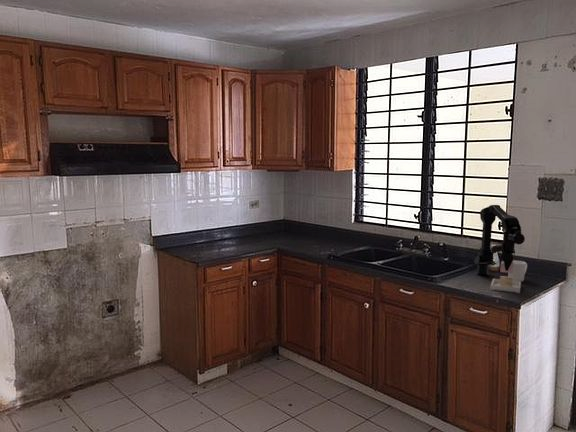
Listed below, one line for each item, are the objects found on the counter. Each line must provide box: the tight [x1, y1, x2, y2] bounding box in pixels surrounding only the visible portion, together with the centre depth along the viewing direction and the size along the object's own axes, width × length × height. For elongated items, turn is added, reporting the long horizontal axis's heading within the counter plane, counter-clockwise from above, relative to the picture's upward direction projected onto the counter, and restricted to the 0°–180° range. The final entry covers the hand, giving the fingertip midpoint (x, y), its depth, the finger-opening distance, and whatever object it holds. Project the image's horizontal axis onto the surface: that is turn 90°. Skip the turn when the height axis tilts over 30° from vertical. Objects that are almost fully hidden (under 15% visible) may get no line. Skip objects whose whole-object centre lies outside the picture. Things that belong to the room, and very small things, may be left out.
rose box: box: [499, 260, 514, 274], centre depth 255 cm, size 6×6×4 cm
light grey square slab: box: [490, 278, 522, 294], centre depth 256 cm, size 14×14×2 cm
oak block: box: [499, 275, 513, 287], centre depth 256 cm, size 6×6×5 cm
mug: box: [507, 259, 528, 283], centre depth 272 cm, size 11×9×10 cm
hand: (506, 269), depth 255 cm, fingers closed on rose box, 6 cm apart
